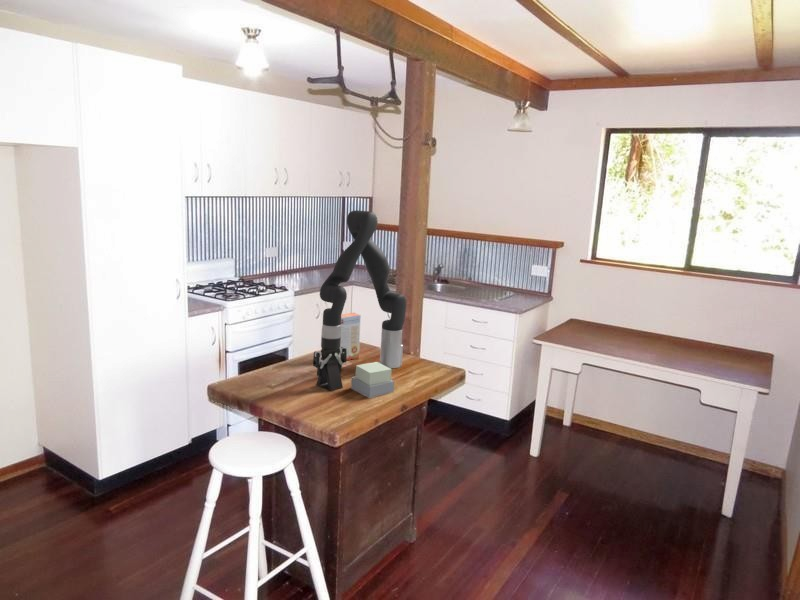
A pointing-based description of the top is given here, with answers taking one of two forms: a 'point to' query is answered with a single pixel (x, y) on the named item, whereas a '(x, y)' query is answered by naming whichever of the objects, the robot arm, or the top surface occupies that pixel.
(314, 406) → the top surface
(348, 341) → the cracker box
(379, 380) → the tower top block
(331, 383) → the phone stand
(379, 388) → the tower base slab
